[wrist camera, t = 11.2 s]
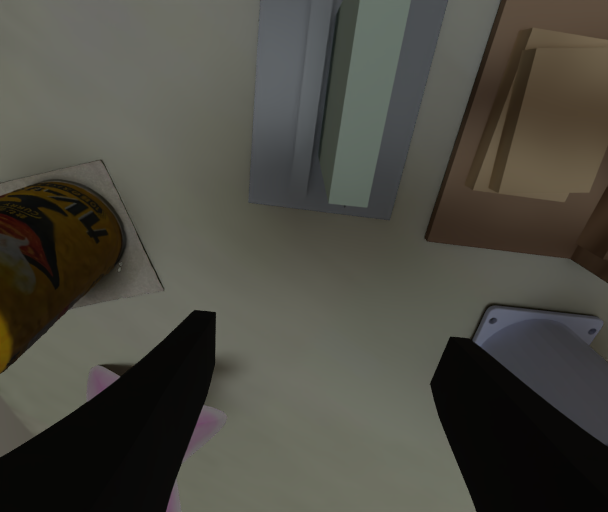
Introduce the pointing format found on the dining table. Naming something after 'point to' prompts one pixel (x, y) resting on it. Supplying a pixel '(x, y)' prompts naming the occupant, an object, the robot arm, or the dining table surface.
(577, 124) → the offcut upper
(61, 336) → the dining table surface
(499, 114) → the offcut lower
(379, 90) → the sheet
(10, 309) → the condiment
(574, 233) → the rack
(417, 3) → the stand
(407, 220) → the dining table surface
